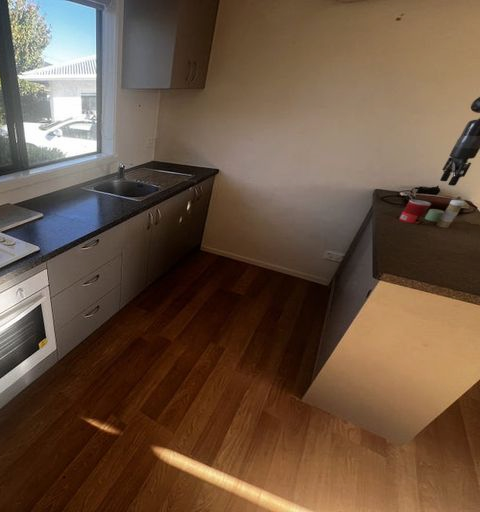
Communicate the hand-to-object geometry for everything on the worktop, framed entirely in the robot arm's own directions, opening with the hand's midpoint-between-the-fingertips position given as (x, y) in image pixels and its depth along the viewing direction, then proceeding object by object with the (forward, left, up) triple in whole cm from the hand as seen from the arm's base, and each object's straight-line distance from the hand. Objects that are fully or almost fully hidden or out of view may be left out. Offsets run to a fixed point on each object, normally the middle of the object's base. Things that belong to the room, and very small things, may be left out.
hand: (447, 183), depth 134 cm
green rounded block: (-19, -8, -23) cm, 30 cm away
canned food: (-3, -8, -23) cm, 24 cm away
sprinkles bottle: (-13, 0, -23) cm, 26 cm away
